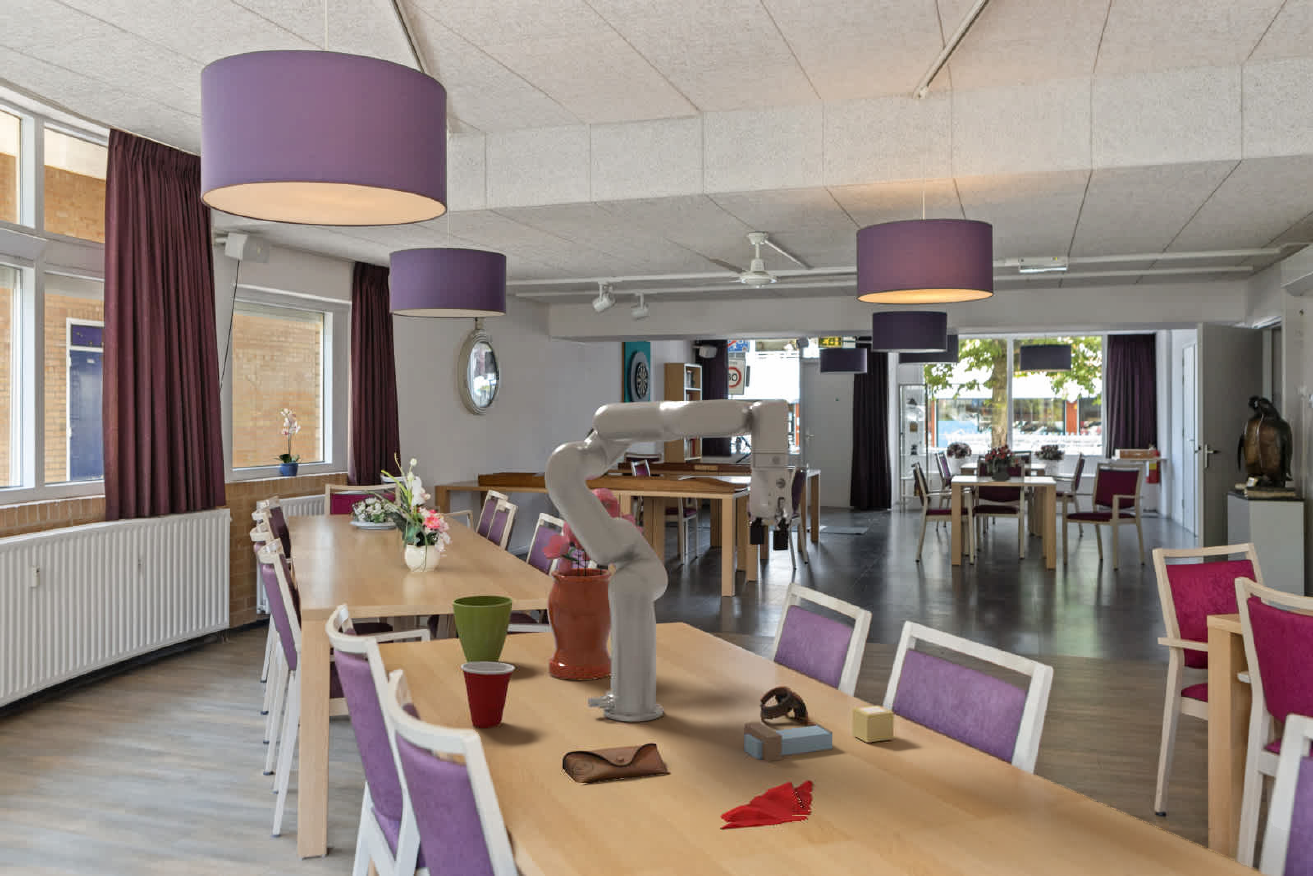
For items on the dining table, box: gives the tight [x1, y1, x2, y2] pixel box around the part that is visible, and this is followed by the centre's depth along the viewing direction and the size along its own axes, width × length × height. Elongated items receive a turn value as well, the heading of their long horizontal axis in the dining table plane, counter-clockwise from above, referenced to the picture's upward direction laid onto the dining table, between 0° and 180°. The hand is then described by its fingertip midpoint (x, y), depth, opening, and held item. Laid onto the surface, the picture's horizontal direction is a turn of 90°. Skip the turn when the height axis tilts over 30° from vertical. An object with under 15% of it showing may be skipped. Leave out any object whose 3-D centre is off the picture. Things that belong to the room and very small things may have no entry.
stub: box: [851, 704, 895, 743], centre depth 196 cm, size 6×5×5 cm
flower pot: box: [452, 595, 513, 663], centre depth 253 cm, size 15×15×16 cm
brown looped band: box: [759, 685, 810, 725], centre depth 207 cm, size 12×10×8 cm
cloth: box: [719, 780, 814, 830], centre depth 161 cm, size 26×14×2 cm, turn 127°
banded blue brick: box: [743, 721, 833, 762], centre depth 189 cm, size 16×9×4 cm, turn 112°
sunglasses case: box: [561, 742, 671, 784], centre depth 177 cm, size 18×7×7 cm, turn 112°
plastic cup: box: [460, 662, 516, 729], centre depth 203 cm, size 11×11×12 cm
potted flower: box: [542, 487, 644, 681], centre depth 245 cm, size 19×25×45 cm
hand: (768, 547), depth 202 cm, fingers open, 9 cm apart
